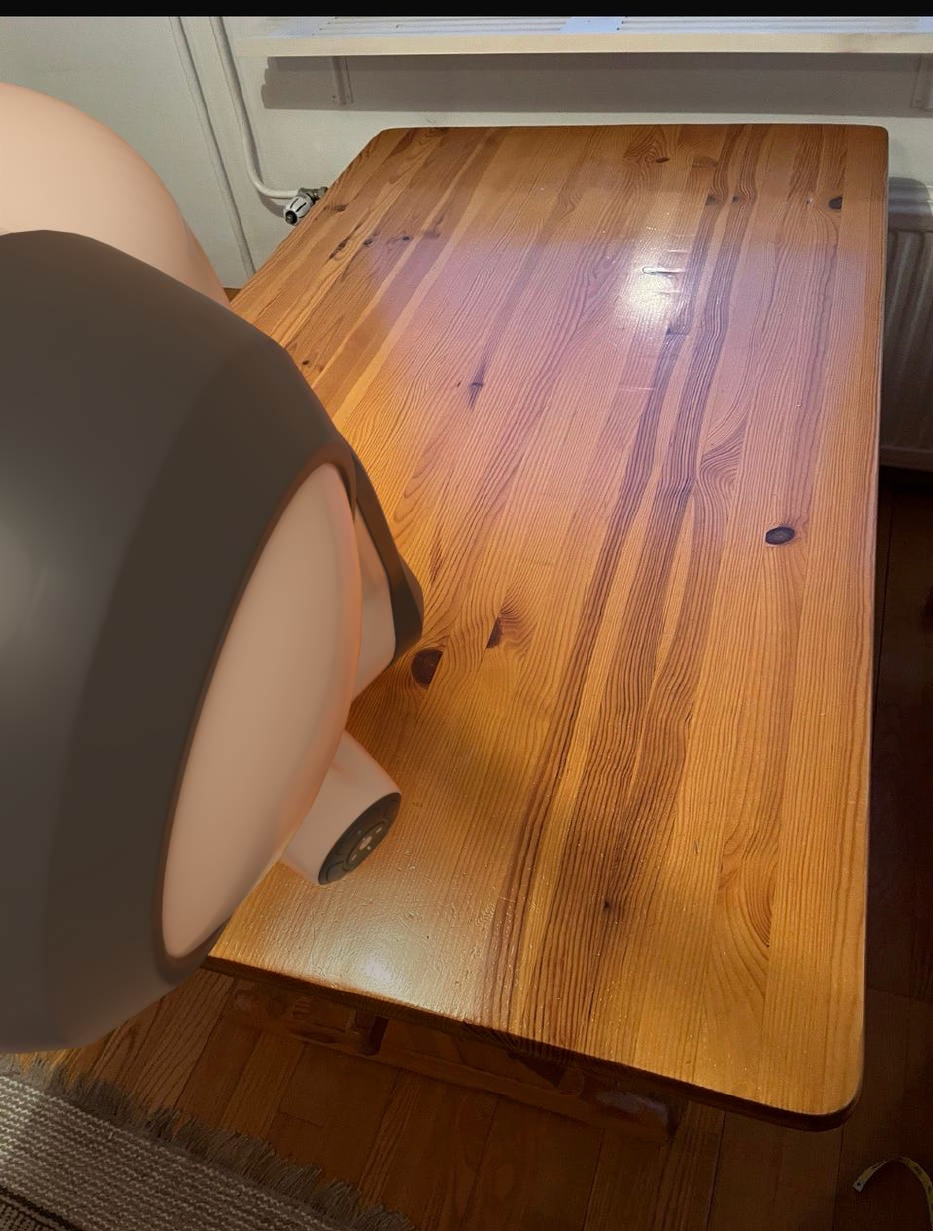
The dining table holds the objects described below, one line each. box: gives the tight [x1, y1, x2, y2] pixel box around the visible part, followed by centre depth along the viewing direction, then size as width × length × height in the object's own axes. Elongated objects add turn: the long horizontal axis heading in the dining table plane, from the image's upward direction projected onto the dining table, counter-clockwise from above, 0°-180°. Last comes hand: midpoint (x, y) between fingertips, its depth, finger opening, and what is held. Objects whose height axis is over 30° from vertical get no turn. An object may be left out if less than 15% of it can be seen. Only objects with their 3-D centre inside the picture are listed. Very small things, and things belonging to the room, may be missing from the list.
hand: (100, 606), depth 70 cm, fingers open, 8 cm apart
